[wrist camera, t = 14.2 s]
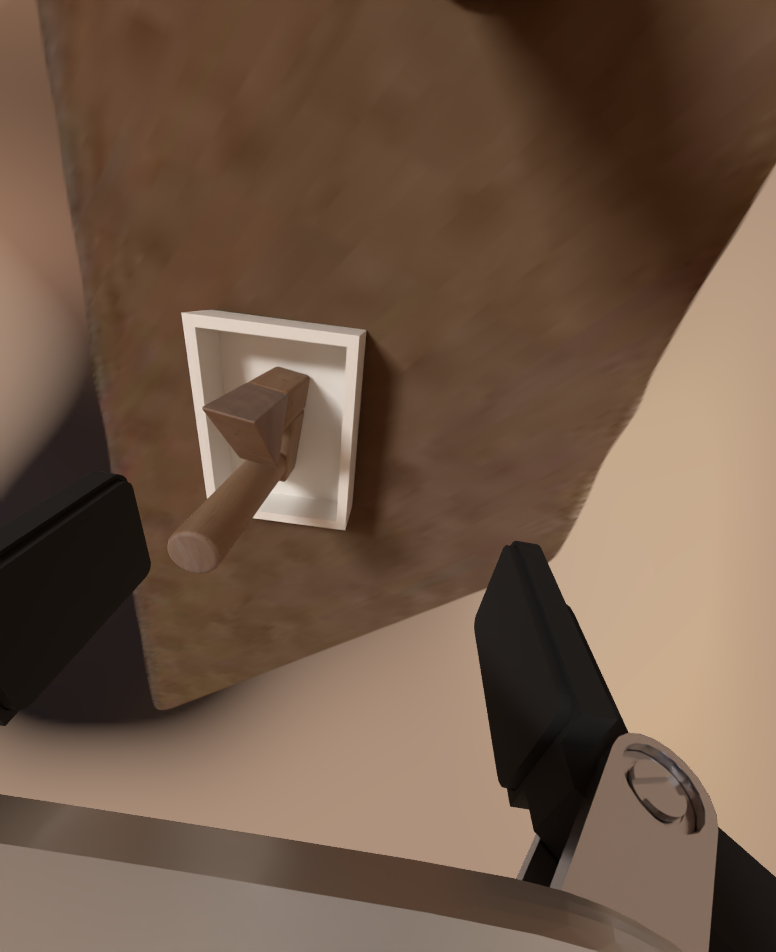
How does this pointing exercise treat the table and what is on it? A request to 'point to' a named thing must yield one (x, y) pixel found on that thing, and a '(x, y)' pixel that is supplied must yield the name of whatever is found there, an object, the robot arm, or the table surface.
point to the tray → (325, 415)
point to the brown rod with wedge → (245, 464)
